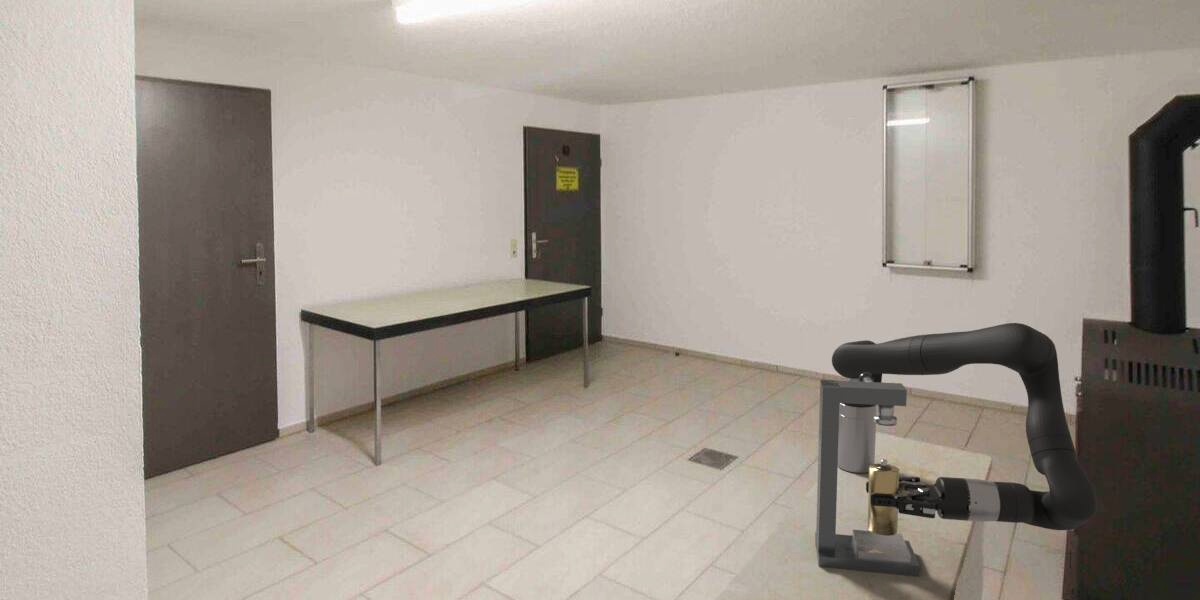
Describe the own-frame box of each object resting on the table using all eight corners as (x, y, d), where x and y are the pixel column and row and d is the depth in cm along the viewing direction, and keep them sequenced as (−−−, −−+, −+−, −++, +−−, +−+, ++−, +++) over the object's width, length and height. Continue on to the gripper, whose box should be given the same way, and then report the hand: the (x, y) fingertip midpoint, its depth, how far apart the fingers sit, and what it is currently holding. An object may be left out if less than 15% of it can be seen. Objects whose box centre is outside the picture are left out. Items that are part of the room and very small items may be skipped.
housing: (861, 525, 132) (863, 457, 130) (884, 521, 133) (886, 454, 132) (880, 537, 127) (881, 466, 125) (903, 533, 128) (905, 463, 127)
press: (900, 532, 142) (907, 371, 138) (919, 576, 125) (928, 394, 121) (812, 524, 146) (816, 368, 142) (818, 566, 129) (823, 389, 125)
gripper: (956, 465, 132) (863, 460, 136) (979, 495, 119) (874, 488, 123) (955, 503, 133) (862, 496, 137) (977, 536, 119) (873, 528, 123)
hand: (868, 493), depth 130 cm, fingers closed on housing, 5 cm apart
